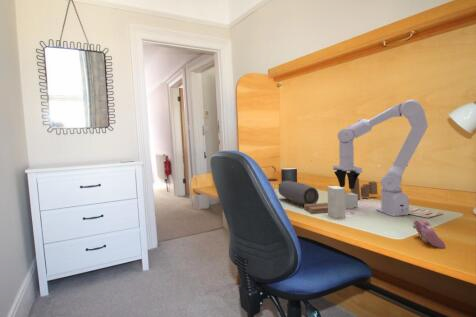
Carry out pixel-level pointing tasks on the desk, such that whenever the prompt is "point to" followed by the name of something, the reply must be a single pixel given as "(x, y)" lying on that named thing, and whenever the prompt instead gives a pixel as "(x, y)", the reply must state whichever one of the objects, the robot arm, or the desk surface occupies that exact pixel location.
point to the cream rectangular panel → (349, 213)
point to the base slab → (316, 208)
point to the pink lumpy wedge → (428, 233)
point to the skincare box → (336, 202)
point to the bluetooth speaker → (298, 192)
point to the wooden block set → (365, 189)
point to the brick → (351, 200)
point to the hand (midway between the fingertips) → (346, 187)
